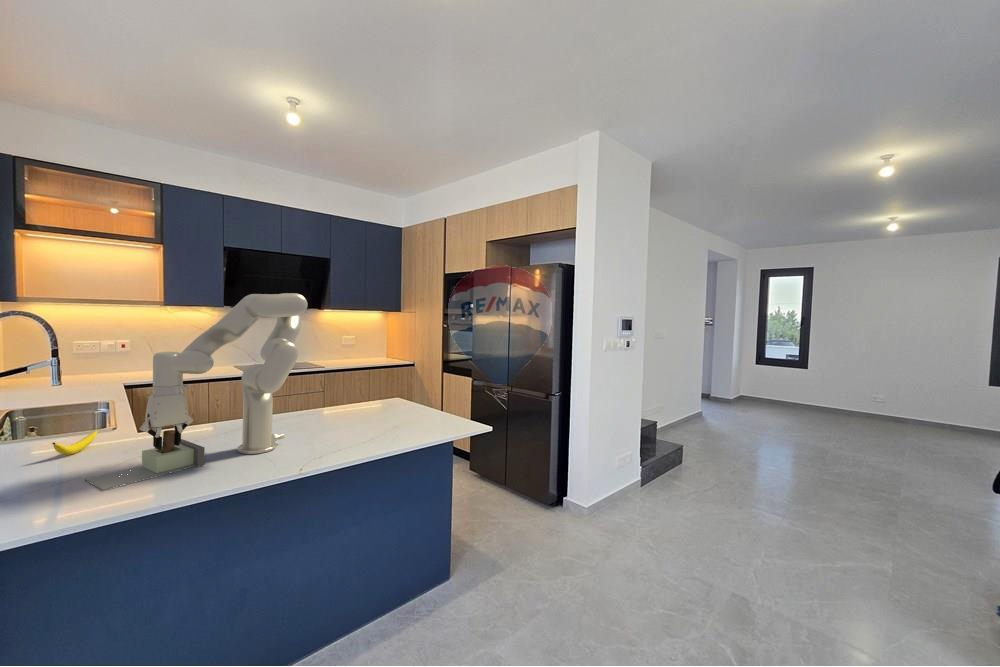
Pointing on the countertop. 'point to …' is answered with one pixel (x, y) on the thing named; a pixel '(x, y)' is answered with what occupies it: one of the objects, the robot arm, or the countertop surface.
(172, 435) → the dowel
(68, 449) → the banana
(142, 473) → the grey l-shaped plate
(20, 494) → the countertop surface
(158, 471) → the socket block
